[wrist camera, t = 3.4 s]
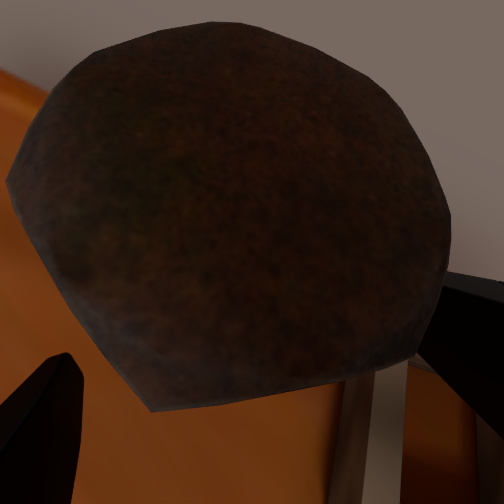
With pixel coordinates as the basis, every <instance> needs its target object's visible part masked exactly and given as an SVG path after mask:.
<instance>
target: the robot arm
mask: <svg viewBox="0 0 504 504" xmlns="http://www.w3.org/2000/svg"><path fill="white" fill-rule="evenodd" d="M416 353H417V354H418V355H419V356H420V357H421V358H422V359H423V360H424V361H425V362H426V363H427V364H428V365H429V366H430V367H431V368H432V369H433V370H434V371H435V372H436V373H437V374H438V375H439V376H440V377H441V378H442V379H443V380H444V381H445V382H446V383H447V384H448V385H449V386H450V387H451V388H452V389H453V390H454V391H455V392H456V393H457V394H458V395H459V396H460V397H461V398H462V399H463V400H464V401H465V402H466V403H467V404H468V405H469V406H470V407H471V408H472V409H473V410H474V411H475V412H476V413H477V414H478V415H479V416H480V417H481V418H482V419H483V420H484V421H485V422H486V423H487V424H488V425H489V426H490V427H491V428H492V429H493V430H494V431H495V432H496V433H497V434H498V435H499V436H500V437H501V438H502V439H503V440H504V282H502V281H498V282H497V281H496V280H491V279H486V278H480V277H475V276H470V275H464V274H459V273H454V272H448V271H447V272H446V275H445V279H444V282H443V286H442V289H441V293H440V296H439V300H438V303H437V306H436V309H435V311H434V313H433V315H432V318H431V320H430V322H429V325H428V327H427V329H426V331H425V334H424V336H423V338H422V340H421V343H420V345H419V347H418V350H417V352H416ZM83 393H84V376H83V373H82V371H81V370H80V368H79V366H78V365H77V363H76V362H75V360H74V359H73V357H72V356H71V354H69V353H66V352H65V353H61V354H58V355H55V356H52V357H49V358H48V359H46V360H45V361H44V362H43V363H42V364H41V365H40V366H39V367H38V368H37V369H36V370H35V371H34V372H33V373H32V374H31V375H30V376H29V377H28V378H27V379H26V380H25V381H24V382H23V383H22V384H21V385H20V386H19V387H18V388H17V389H16V390H15V391H14V392H13V393H12V394H11V395H10V396H9V397H8V398H7V399H6V400H5V401H4V402H3V403H2V404H1V405H0V504H71V500H72V494H73V488H74V482H75V476H76V470H77V463H78V457H79V451H80V444H81V432H82V412H83Z"/></svg>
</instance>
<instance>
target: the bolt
mask: <svg viewBox="0 0 504 504" xmlns="http://www.w3.org/2000/svg"><path fill="white" fill-rule="evenodd" d="M5 182H6V185H7V188H8V192H9V195H10V198H11V202H12V205H13V208H14V212H15V213H16V215H17V217H18V219H19V221H20V222H21V224H22V226H23V228H24V230H25V231H26V233H27V235H28V237H29V239H30V240H31V242H32V244H33V246H34V247H35V249H36V251H37V253H38V254H39V256H40V258H41V260H42V261H43V263H44V265H45V267H46V269H47V270H48V272H49V274H50V275H51V277H52V279H53V281H54V282H55V284H56V286H57V288H58V289H59V291H60V293H61V295H62V296H63V298H64V300H65V302H66V303H67V305H68V307H69V309H70V310H71V311H72V313H73V314H74V315H75V317H76V318H77V320H78V321H79V322H80V324H81V325H82V326H83V328H84V329H85V331H86V332H87V333H88V335H89V336H90V337H91V339H92V340H93V342H94V343H95V344H96V346H97V347H98V348H99V350H100V351H101V353H102V354H103V355H104V357H105V358H106V359H107V360H108V362H109V363H110V364H111V365H112V366H113V368H114V369H115V370H116V371H117V372H118V373H119V375H120V376H121V377H122V378H123V379H124V381H125V382H126V383H127V384H128V385H129V387H130V388H131V389H132V390H133V391H134V392H135V394H136V395H137V396H138V397H139V398H140V400H141V401H142V402H143V403H144V404H145V405H146V407H147V408H148V409H149V410H150V411H151V413H152V412H161V411H170V410H180V409H189V408H198V407H208V406H217V405H224V404H229V403H234V402H239V401H244V400H249V399H254V398H259V397H264V396H269V395H274V394H279V393H285V392H290V391H295V390H300V389H305V388H310V387H315V386H320V385H325V384H330V383H335V382H340V381H345V380H349V379H353V378H356V377H360V376H363V375H366V374H370V373H373V372H376V371H380V370H383V369H386V368H388V367H391V366H393V365H396V364H398V363H400V362H403V361H405V360H407V359H410V358H412V357H414V356H415V354H416V352H417V350H418V347H419V345H420V343H421V340H422V338H423V336H424V334H425V331H426V329H427V327H428V325H429V322H430V320H431V318H432V315H433V313H434V311H435V309H436V306H437V303H438V300H439V296H440V293H441V289H442V286H443V282H444V279H445V275H446V272H447V268H448V264H449V255H450V245H451V214H450V210H449V207H448V204H447V201H446V198H445V195H444V192H443V190H442V188H441V185H440V183H439V180H438V178H437V175H436V173H435V170H434V168H433V165H432V163H431V160H430V158H429V155H428V154H427V152H426V150H425V148H424V147H423V145H422V143H421V141H420V140H419V138H418V136H417V134H416V133H415V131H414V129H413V128H412V126H411V124H410V123H409V121H408V119H407V118H406V116H405V114H404V113H403V111H402V109H401V108H400V107H399V106H398V105H397V103H396V102H395V101H394V100H393V99H392V98H391V97H390V95H389V94H388V93H387V92H386V91H385V90H384V89H382V88H381V87H380V86H379V85H378V84H376V83H375V82H374V81H373V80H371V79H370V78H369V77H368V76H366V75H364V74H362V73H360V72H359V71H357V70H355V69H353V68H351V67H349V66H348V65H346V64H344V63H342V62H340V61H338V60H337V59H335V58H333V57H331V56H329V55H327V54H325V53H324V52H322V51H320V50H318V49H316V48H314V47H311V46H309V45H306V44H303V43H301V42H298V41H295V40H292V39H290V38H287V37H284V36H282V35H279V34H276V33H273V32H271V31H268V30H265V29H263V28H260V27H256V26H251V25H247V24H243V23H234V22H233V23H232V22H206V23H200V24H194V25H189V26H183V27H177V28H171V29H165V30H160V31H156V32H153V33H150V34H147V35H144V36H141V37H138V38H135V39H132V40H129V41H126V42H123V43H120V44H117V45H114V46H111V47H108V48H105V49H102V50H99V51H96V52H93V53H92V54H91V55H89V56H88V57H87V58H86V59H84V60H83V61H82V62H80V63H79V64H78V65H76V66H75V67H74V68H73V69H72V70H71V71H70V72H69V73H68V74H67V75H66V76H65V77H64V78H63V79H62V80H61V81H60V82H59V83H58V84H57V85H56V86H55V87H54V88H53V90H52V91H51V93H50V94H49V96H48V97H47V99H46V101H45V102H44V104H43V105H42V107H41V108H40V110H39V111H38V113H37V115H36V116H35V118H34V119H33V121H32V122H31V124H30V126H29V127H28V130H27V132H26V134H25V137H24V139H23V141H22V144H21V146H20V148H19V150H18V153H17V155H16V157H15V160H14V162H13V164H12V167H11V169H10V171H9V174H8V176H7V178H6V181H5Z"/></svg>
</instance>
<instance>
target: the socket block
mask: <svg viewBox="0 0 504 504" xmlns="http://www.w3.org/2000/svg"><path fill="white" fill-rule="evenodd" d="M408 364H409V365H412V366H415V367H418V368H420V369H423V370H426V371H429V372H432V373H434V374H437V373H436V372H435V371H434V370H433V369H432V368H431V367H430V366H429V365H428V364H427V363H426V362H425V361H424V360H423V359H422V358H421V357H420V356H419V355H418V354H417V353H416V354H415V356H414V357H412V358H410V359H407V360H405V361H403V362H400V363H398V364H396V365H393V366H391V367H388V368H386V369H383V370H380V371H376V372H373V373H370V374H366V375H363V376H360V377H356V378H353V379H349V380H346V381H345V388H344V395H343V402H342V409H341V416H340V422H339V429H338V436H337V443H336V450H335V457H334V464H333V470H332V477H331V484H330V491H329V498H328V504H401V503H400V487H401V469H402V452H403V435H404V418H405V401H406V384H407V367H408ZM437 375H438V374H437ZM476 436H477V462H478V488H479V504H504V440H503V439H502V438H501V437H500V436H499V435H498V434H497V433H496V432H495V431H494V430H493V429H492V428H491V427H490V426H489V425H488V424H487V423H486V422H485V421H484V420H483V419H482V418H481V417H480V416H479V415H478V414H477V413H476Z"/></svg>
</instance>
